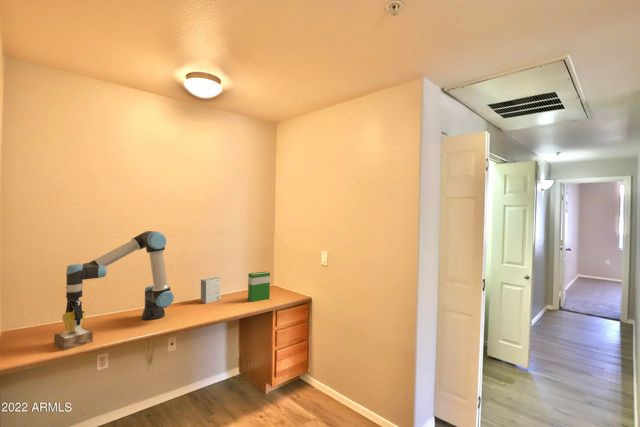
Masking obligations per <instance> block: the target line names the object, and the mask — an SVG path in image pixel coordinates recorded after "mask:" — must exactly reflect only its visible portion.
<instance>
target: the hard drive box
mask: <svg viewBox="0 0 640 427" xmlns="http://www.w3.org/2000/svg"><path fill="white" fill-rule="evenodd" d="M221 285H222V284H221V277H218V276H212V277H208V278H203V279H200V302H201V303H202V304H204V305H205V304H210V303H213V302H217V301H220V300H221V298H222V296H221Z"/></svg>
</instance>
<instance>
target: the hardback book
mask: <svg viewBox="0 0 640 427" xmlns="http://www.w3.org/2000/svg"><path fill="white" fill-rule="evenodd" d="M247 274H248V275H247V276H248V280H247V281H248V282H247V286H248V287H247V301H249V302H250V303H255V302H256V303H257V302H261V301H265V300H270V291H271V290H270V288H271V286H270V284H271V283H270V282H271V272H267V271H260V272H259V271H257V272H250V273H247Z"/></svg>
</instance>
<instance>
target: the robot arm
mask: <svg viewBox="0 0 640 427" xmlns="http://www.w3.org/2000/svg"><path fill="white" fill-rule="evenodd" d="M166 244H167V237H166V235H165V234H164V233H162V232H160V231H153V230H152V231H151V230H148V231H144V232H142V233H140V234H138V235H136V236H135V237H133V238H131V240H130V241H128V242H126V243H124V244H122V245H120V246H117V248H114V249H112V250H110V251H109V252H107V253H105V254H103V255H101V256H99V257H97V258H96V259H93V260H91V261H89V262H86V263H85V262H84V263H83V264H81V263H78V264H77V263H75V264H74V263H73V264H69V265H67V267H66V273H65V275H66V279H65V280H66V285H65V289H66V292H65V293H66V294H65V297H66V298H65V299H66V307H65V309H66V310H65V313H69V312H73V311H74V314H75V318H76V319H74V320H75V331H78V330H81V327H82V326H81V319H82V318H83V315H82V311H83V308H82V305H83V304H82V300H81V301H80V298H81V297H83V290H84V289H83V287H84V286H83V281H84V280H93V279H94V280H95V279H101V278H105V277H106V275H107V274H108V272H107V271H108V270H107V267H108V266H110V265H112V264H114V263H115V262H118V261H119V260H121V259H123V258H125V257H126V256H129V255H131V254H132V253H134V252H136V251H141V250H142V249H145V250H146V253H147V254H148V255H149V261H150V269H151V275H152V282H153V283H152V284H153V285H149V286H146V287H145V288H144V308H143V310H142V313H141V319H142V320H145V321H153V320H158V319H161V318H164V317H165V315H166V313H165V308H167V307H169V306H170V305H172V303H173V302H174V300H175V299H174V298H175V295H174V293H173V292H172V291H171V285H170V284H168V281H167V272H166V271H167V270H166V264H165V258H164V257H165V256H164V251H165V250H166ZM83 319H84V318H83Z"/></svg>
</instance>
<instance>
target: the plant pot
mask: <svg viewBox="0 0 640 427" xmlns="http://www.w3.org/2000/svg"><path fill="white" fill-rule="evenodd" d="M82 315H83V318H82V319H81V327H83V326H82V324H83V321H84V319H85V318H86V312H85V311H84V310H82ZM74 319H76V318H75V314H74V311H73V312H69V313H66V312H65V313H63V314H62V322H63V323H64V327H65V331H67V332H73V331H75V320H74Z"/></svg>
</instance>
